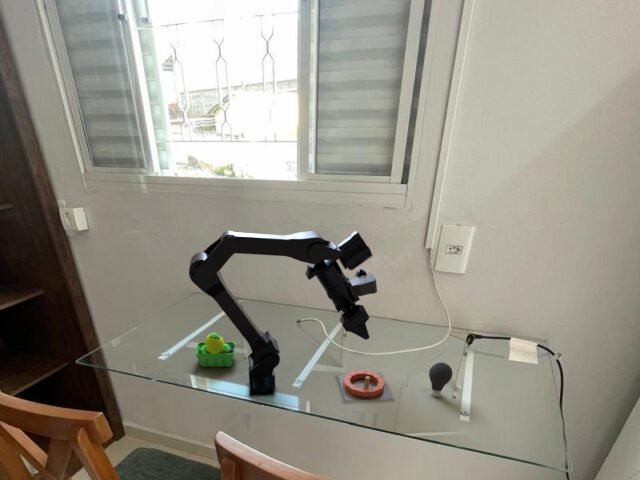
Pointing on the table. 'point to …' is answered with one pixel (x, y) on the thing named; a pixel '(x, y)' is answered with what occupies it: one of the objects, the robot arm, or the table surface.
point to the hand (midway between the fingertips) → (363, 330)
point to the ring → (360, 391)
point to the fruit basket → (215, 352)
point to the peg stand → (363, 384)
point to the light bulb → (439, 377)
